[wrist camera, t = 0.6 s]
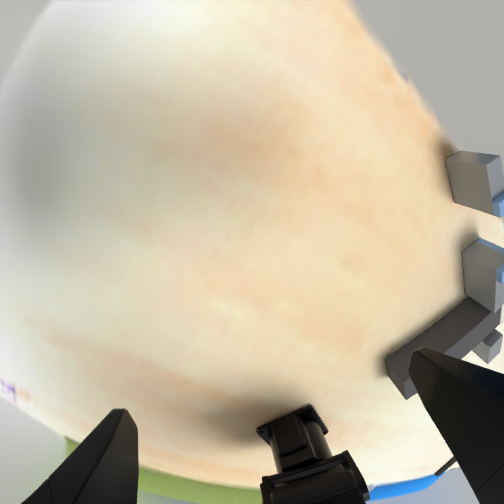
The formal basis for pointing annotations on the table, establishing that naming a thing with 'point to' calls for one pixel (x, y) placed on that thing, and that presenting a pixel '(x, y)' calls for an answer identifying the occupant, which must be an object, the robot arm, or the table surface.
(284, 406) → the table surface
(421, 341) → the dark grey long bar
